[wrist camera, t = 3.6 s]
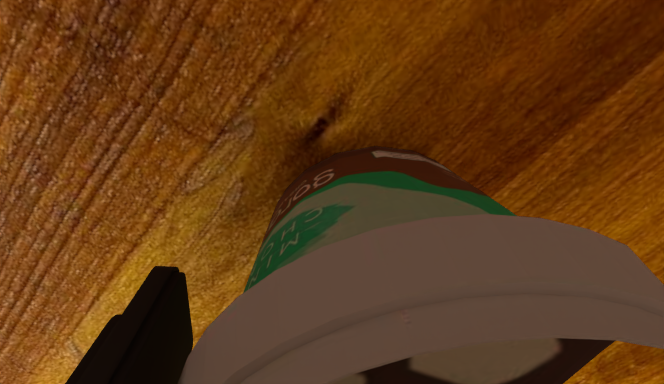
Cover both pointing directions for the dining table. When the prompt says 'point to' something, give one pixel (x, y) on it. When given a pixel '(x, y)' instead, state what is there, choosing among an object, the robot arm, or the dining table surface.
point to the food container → (422, 286)
